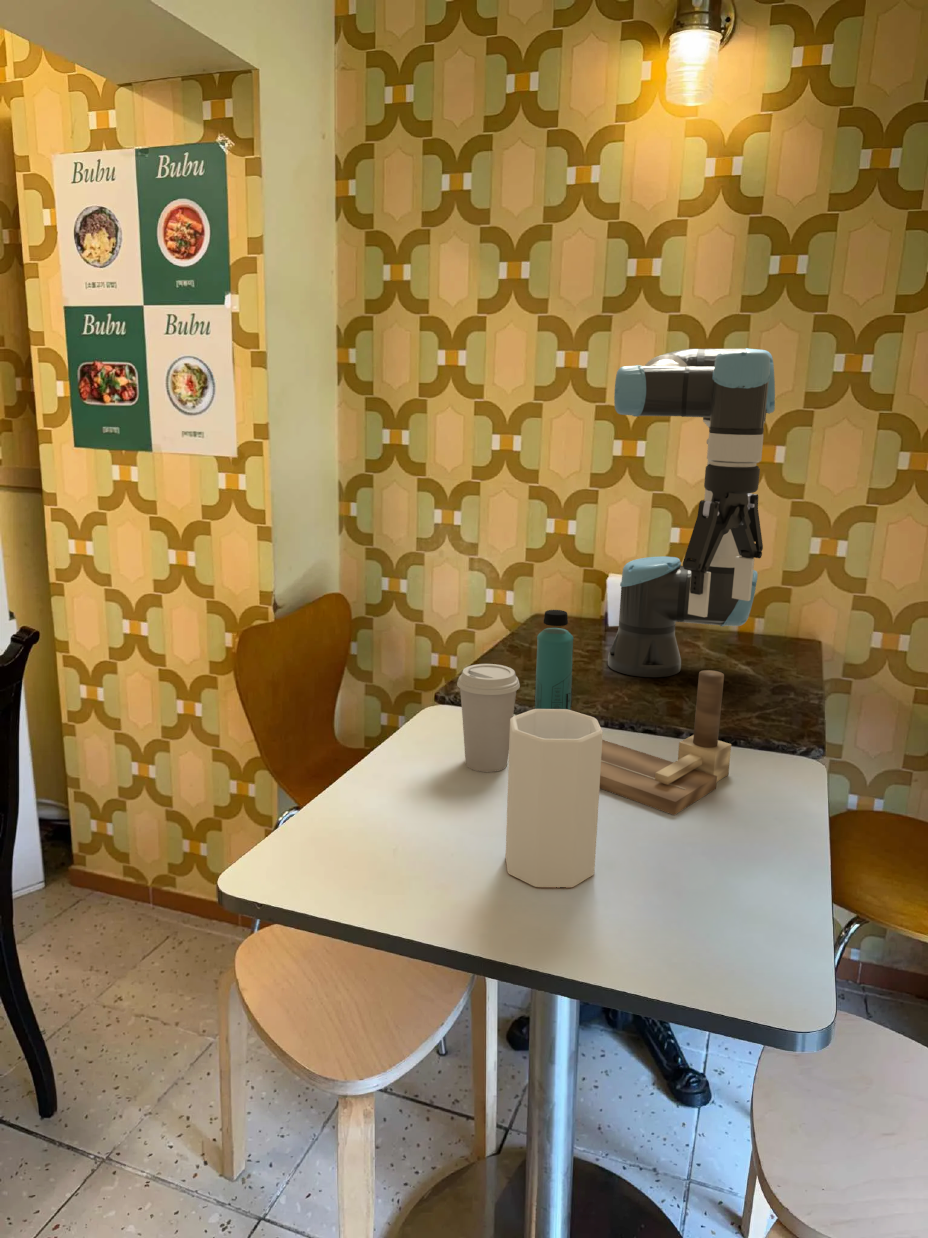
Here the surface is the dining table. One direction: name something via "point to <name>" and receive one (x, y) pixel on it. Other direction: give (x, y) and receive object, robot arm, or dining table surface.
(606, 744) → the board
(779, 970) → the dining table surface
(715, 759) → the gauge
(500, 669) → the coffee cup
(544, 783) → the cup
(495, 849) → the dining table surface
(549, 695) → the beverage bottle
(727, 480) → the robot arm
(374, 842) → the dining table surface
